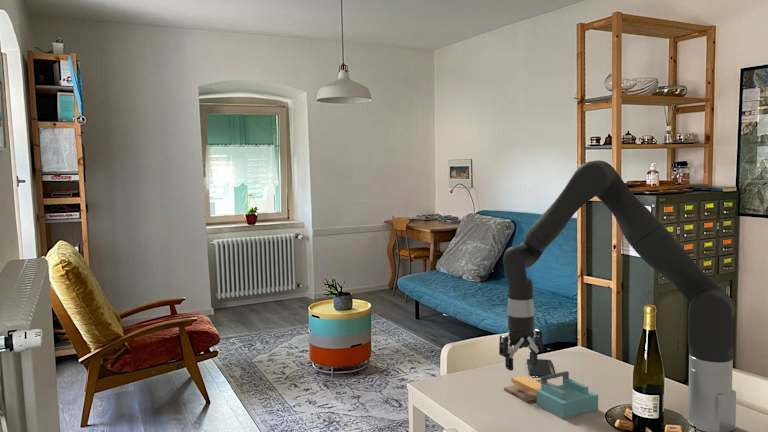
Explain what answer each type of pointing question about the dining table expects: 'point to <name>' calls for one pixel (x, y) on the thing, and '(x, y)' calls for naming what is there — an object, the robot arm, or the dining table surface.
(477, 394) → the dining table surface
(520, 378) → the ticket card
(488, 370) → the dining table surface
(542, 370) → the phone
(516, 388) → the walnut mat
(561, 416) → the ticket dispenser
